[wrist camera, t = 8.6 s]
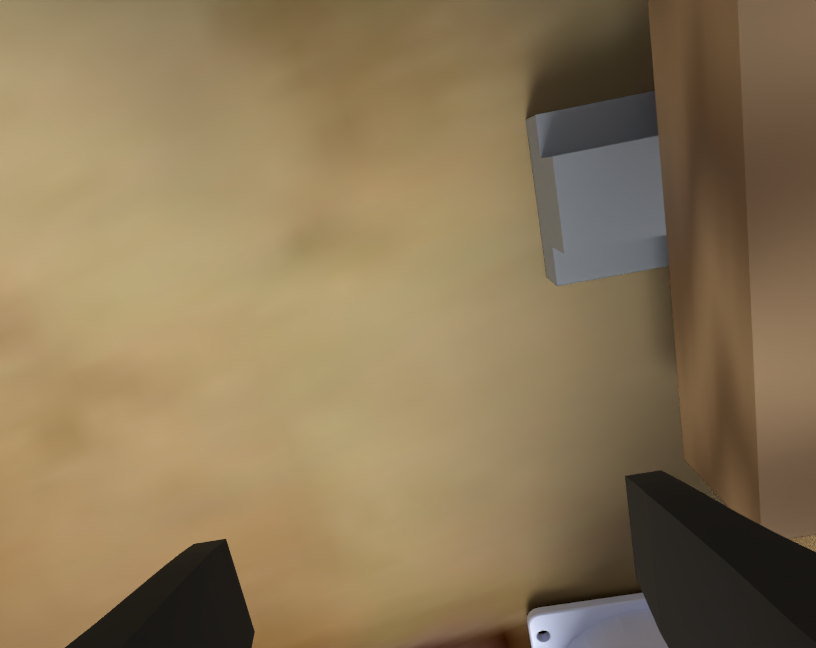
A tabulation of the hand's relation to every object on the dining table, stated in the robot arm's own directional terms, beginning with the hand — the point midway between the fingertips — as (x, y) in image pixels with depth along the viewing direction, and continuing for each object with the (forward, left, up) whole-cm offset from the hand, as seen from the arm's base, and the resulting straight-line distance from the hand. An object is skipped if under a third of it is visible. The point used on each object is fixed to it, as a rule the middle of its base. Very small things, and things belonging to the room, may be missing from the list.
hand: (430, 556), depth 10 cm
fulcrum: (+5, -9, -10) cm, 14 cm away
